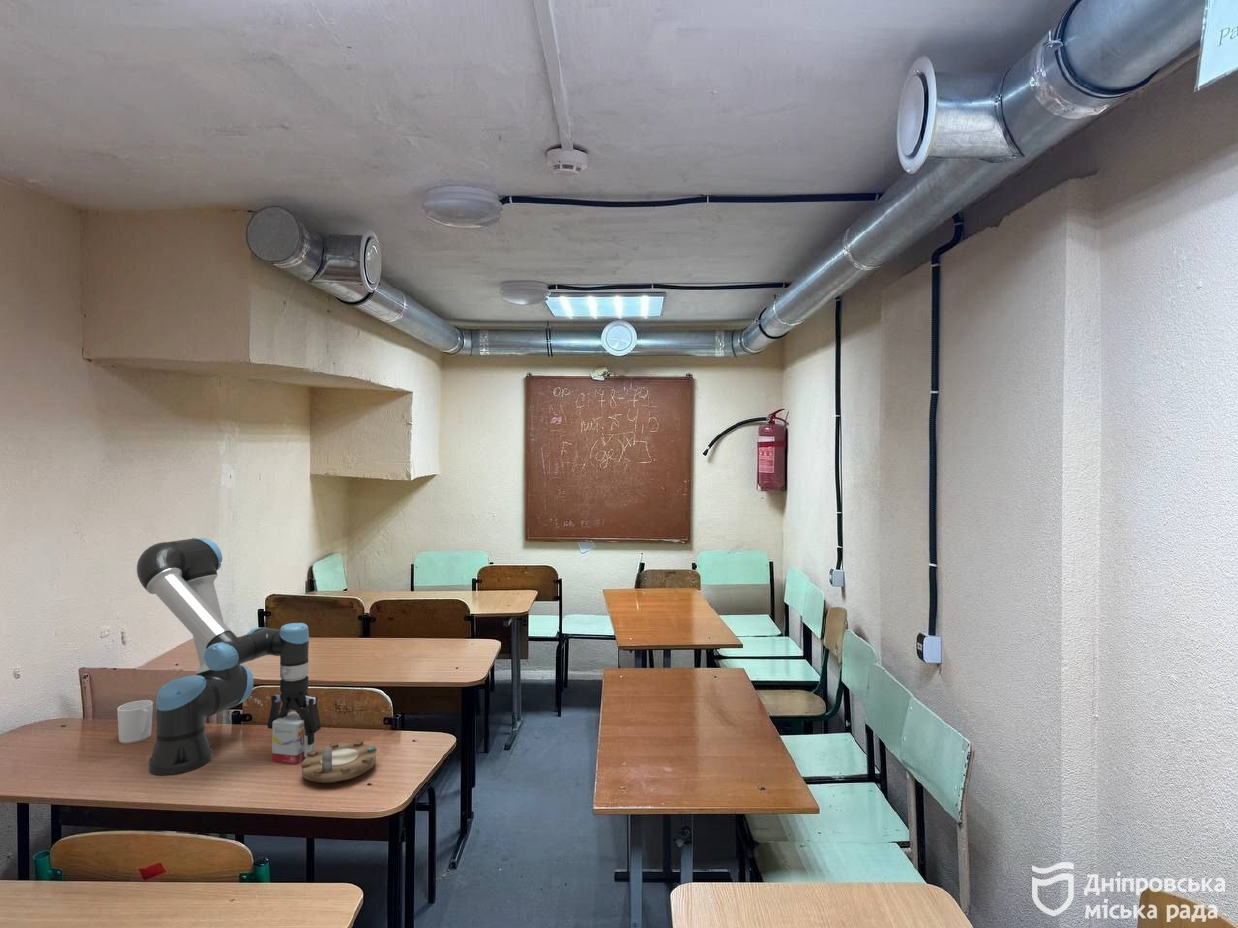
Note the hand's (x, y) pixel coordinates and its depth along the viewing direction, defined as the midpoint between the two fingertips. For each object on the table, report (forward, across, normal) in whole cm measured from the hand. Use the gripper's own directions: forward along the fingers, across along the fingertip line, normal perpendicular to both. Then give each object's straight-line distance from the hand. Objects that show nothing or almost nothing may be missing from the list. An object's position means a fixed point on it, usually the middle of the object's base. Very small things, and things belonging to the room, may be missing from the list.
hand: (294, 753), depth 190 cm
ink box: (+1, 0, 0) cm, 1 cm away
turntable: (-1, +19, -6) cm, 20 cm away
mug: (+1, -56, +1) cm, 56 cm away
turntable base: (+1, +19, -6) cm, 20 cm away
